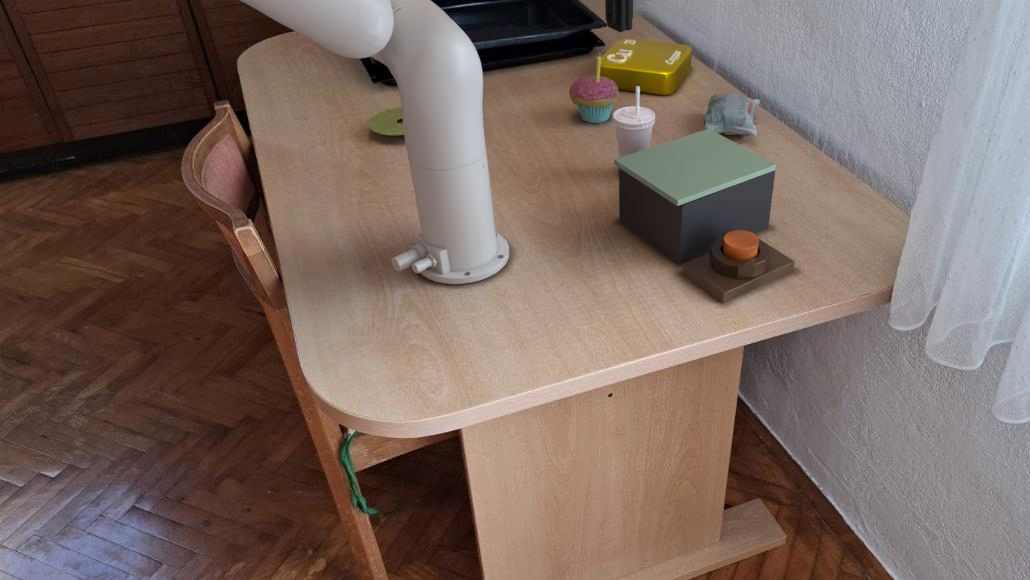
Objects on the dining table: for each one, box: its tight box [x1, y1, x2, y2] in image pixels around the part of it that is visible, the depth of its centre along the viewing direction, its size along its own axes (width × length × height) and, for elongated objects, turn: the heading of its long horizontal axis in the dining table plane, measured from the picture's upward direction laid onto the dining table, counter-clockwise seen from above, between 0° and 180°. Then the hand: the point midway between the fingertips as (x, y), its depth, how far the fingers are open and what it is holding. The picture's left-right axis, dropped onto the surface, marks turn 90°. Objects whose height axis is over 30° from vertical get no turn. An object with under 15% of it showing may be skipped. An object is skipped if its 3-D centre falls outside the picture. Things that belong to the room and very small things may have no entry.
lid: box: [613, 129, 777, 206], centre depth 114 cm, size 17×14×1 cm
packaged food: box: [703, 92, 761, 137], centre depth 142 cm, size 9×12×5 cm
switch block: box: [682, 236, 796, 304], centre depth 110 cm, size 12×8×4 cm, turn 124°
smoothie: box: [611, 86, 656, 158], centre depth 128 cm, size 6×6×14 cm
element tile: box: [600, 37, 693, 96], centre depth 160 cm, size 15×15×5 cm
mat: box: [367, 106, 404, 136], centre depth 145 cm, size 11×11×2 cm
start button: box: [723, 230, 760, 261], centre depth 108 cm, size 4×4×2 cm
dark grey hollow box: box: [618, 167, 776, 266], centre depth 117 cm, size 16×14×9 cm
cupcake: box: [568, 52, 620, 124], centre depth 145 cm, size 9×8×12 cm
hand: (619, 27), depth 105 cm, fingers closed
